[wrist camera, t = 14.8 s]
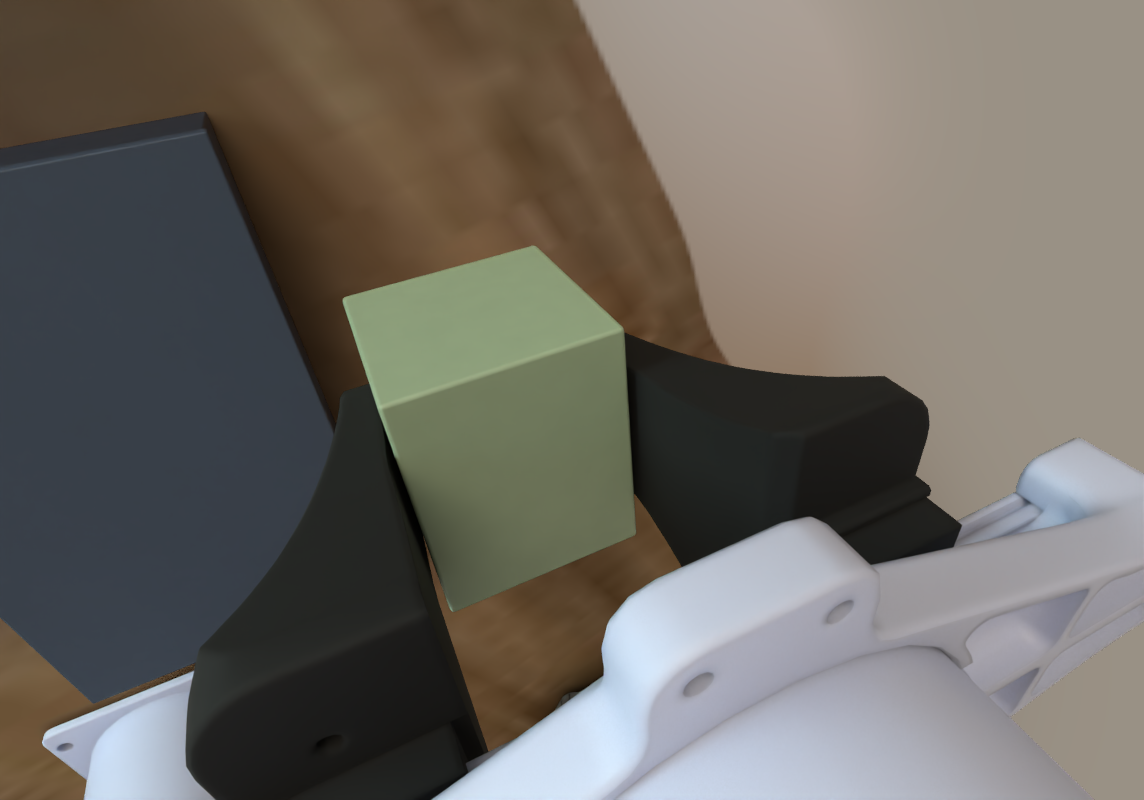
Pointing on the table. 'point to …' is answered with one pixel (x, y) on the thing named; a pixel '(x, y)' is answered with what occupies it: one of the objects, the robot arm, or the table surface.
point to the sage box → (502, 417)
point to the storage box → (142, 401)
